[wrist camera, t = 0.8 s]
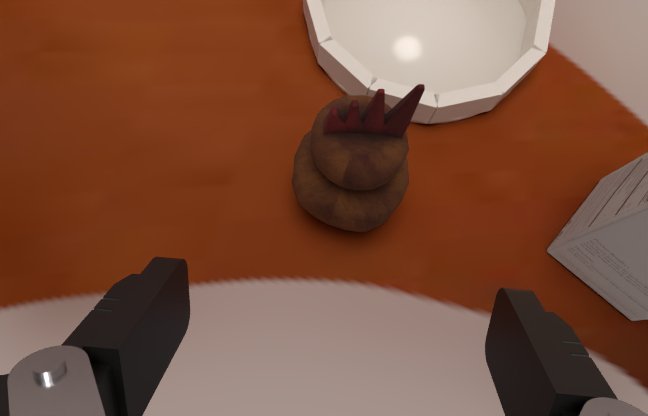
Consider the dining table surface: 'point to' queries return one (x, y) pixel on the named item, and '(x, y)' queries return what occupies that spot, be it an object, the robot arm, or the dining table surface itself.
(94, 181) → the dining table surface
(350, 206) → the wooden figurine
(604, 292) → the supplement box
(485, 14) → the ceramic dish
